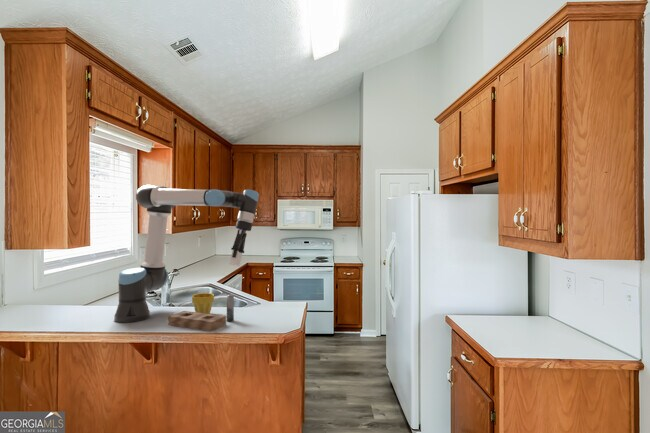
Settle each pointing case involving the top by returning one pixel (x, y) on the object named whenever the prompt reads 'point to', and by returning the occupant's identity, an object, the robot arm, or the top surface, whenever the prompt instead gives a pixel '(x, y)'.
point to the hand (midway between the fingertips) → (234, 265)
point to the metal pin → (230, 308)
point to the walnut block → (197, 320)
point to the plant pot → (203, 302)
